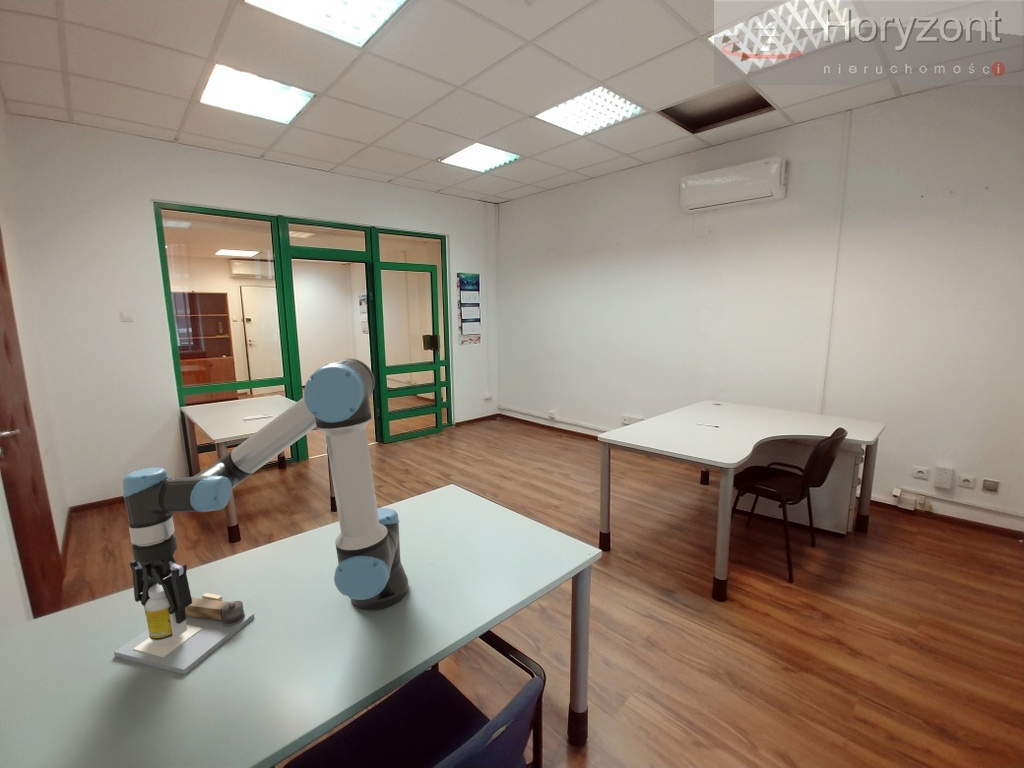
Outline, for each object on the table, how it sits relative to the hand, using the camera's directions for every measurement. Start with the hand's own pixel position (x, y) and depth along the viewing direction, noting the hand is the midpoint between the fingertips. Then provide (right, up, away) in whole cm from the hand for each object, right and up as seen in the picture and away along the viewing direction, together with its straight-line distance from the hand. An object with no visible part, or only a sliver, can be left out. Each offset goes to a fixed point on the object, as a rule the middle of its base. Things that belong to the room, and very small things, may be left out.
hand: (167, 631), depth 101 cm
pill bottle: (0, -1, 0) cm, 1 cm away
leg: (+4, 0, +8) cm, 9 cm away
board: (+3, -3, +3) cm, 5 cm away
